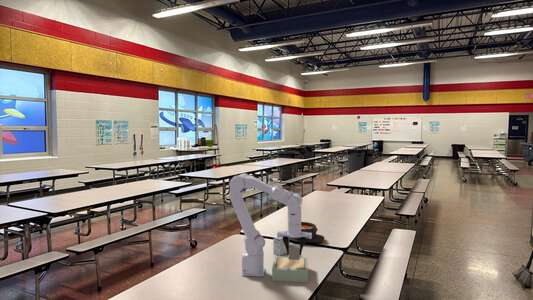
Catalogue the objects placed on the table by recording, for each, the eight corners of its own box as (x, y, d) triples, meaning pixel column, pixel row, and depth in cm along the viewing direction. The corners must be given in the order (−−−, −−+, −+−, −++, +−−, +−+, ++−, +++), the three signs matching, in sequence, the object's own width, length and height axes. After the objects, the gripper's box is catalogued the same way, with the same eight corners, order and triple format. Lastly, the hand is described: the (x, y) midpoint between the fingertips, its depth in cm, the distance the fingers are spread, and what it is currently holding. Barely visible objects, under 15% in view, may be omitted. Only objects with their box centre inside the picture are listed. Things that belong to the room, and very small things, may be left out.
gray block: (288, 259, 135) (288, 247, 135) (289, 255, 140) (289, 244, 140) (299, 260, 135) (299, 248, 135) (299, 255, 139) (299, 244, 139)
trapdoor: (275, 273, 137) (275, 267, 137) (277, 263, 148) (277, 257, 148) (304, 275, 136) (304, 269, 135) (304, 264, 146) (304, 258, 146)
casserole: (328, 237, 190) (328, 223, 189) (318, 248, 173) (319, 232, 173) (288, 232, 201) (288, 218, 200) (276, 241, 184) (276, 226, 184)
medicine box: (282, 249, 171) (282, 233, 170) (289, 251, 168) (289, 235, 167) (273, 254, 165) (273, 237, 164) (280, 256, 162) (280, 239, 161)
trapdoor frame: (272, 280, 136) (272, 267, 135) (274, 266, 150) (274, 254, 149) (308, 282, 134) (308, 269, 134) (307, 268, 148) (307, 256, 148)
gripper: (276, 224, 133) (276, 257, 134) (312, 226, 132) (311, 258, 133) (277, 220, 140) (277, 250, 141) (311, 221, 139) (311, 252, 140)
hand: (294, 254), depth 137 cm, fingers closed on gray block, 4 cm apart
